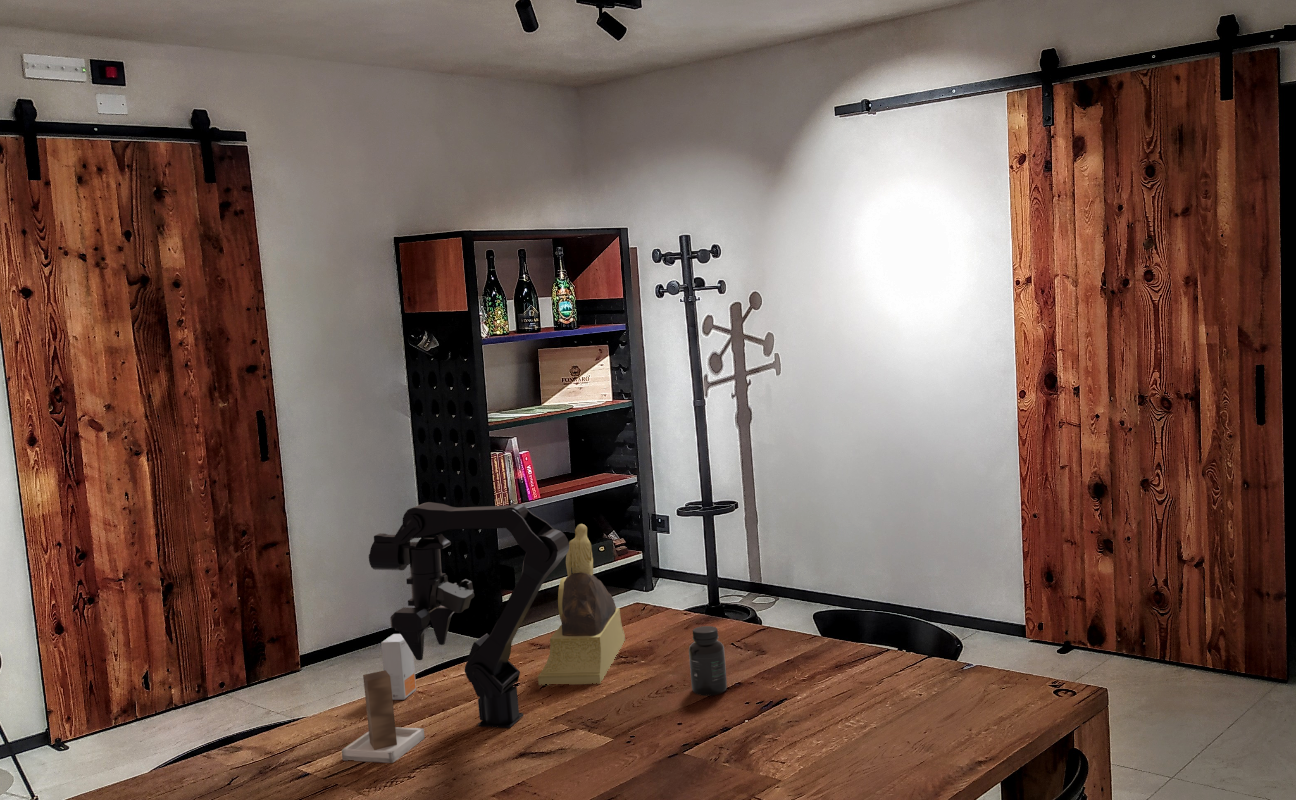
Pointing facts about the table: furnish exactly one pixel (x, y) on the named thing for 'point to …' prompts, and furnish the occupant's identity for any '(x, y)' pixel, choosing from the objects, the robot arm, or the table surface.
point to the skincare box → (399, 666)
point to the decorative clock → (583, 622)
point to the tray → (365, 751)
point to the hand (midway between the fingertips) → (430, 652)
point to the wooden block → (380, 709)
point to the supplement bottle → (707, 662)
